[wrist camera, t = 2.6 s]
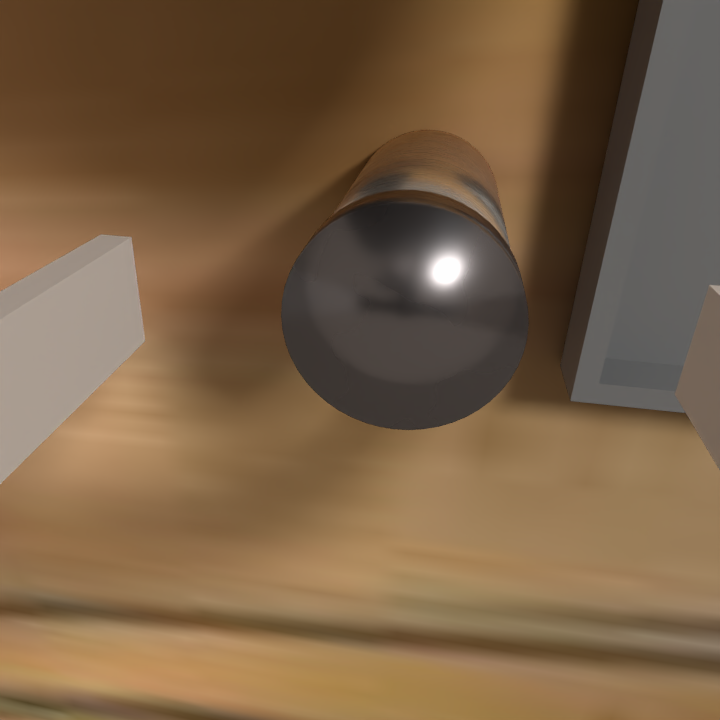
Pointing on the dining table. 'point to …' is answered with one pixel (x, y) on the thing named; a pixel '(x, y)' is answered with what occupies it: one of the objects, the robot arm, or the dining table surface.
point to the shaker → (410, 290)
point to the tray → (652, 215)
